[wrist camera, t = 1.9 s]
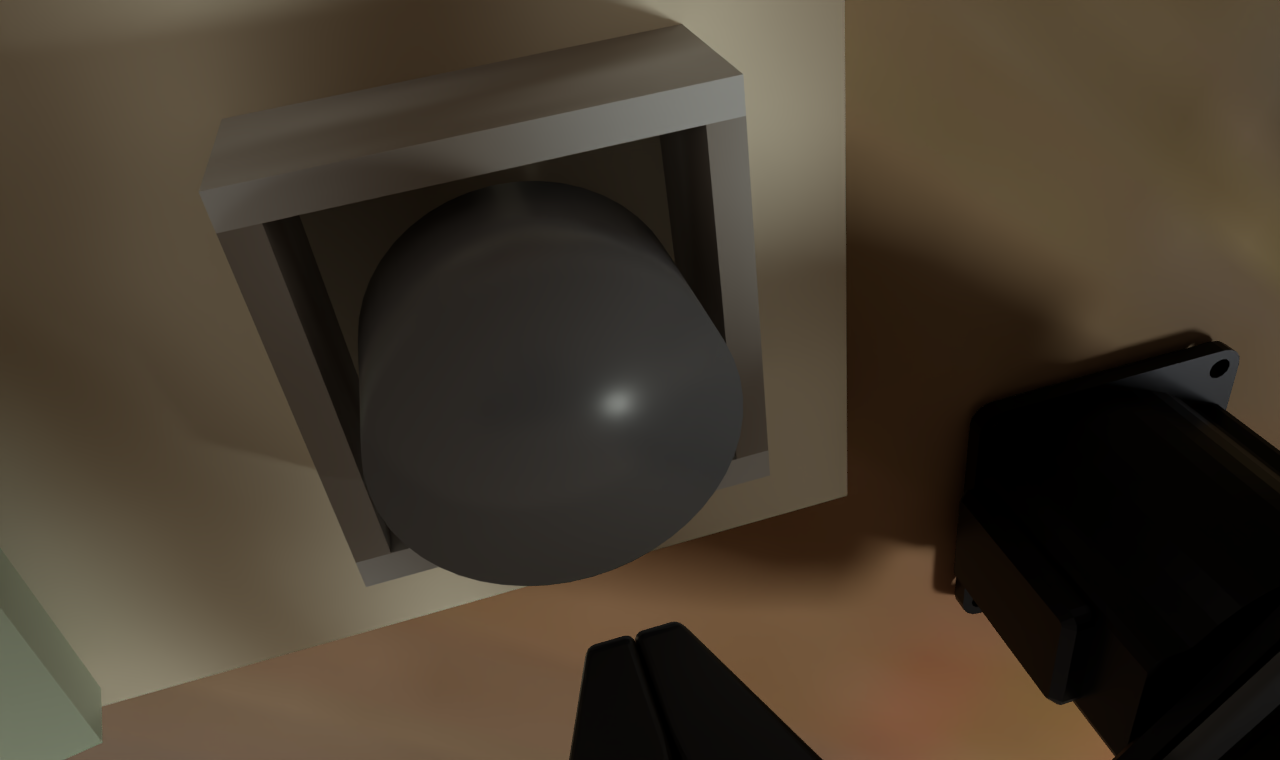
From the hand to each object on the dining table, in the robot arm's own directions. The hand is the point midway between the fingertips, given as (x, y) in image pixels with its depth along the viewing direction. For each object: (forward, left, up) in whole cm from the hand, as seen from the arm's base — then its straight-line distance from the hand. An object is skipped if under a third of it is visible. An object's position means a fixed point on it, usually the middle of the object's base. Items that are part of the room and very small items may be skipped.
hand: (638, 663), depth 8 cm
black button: (0, 0, -6) cm, 6 cm away
